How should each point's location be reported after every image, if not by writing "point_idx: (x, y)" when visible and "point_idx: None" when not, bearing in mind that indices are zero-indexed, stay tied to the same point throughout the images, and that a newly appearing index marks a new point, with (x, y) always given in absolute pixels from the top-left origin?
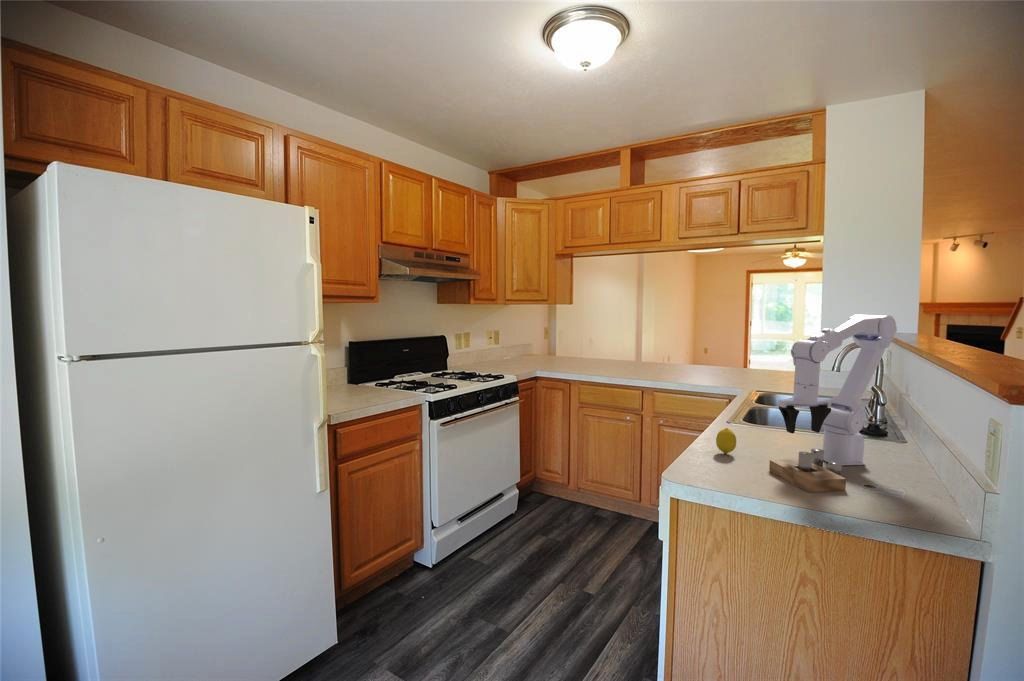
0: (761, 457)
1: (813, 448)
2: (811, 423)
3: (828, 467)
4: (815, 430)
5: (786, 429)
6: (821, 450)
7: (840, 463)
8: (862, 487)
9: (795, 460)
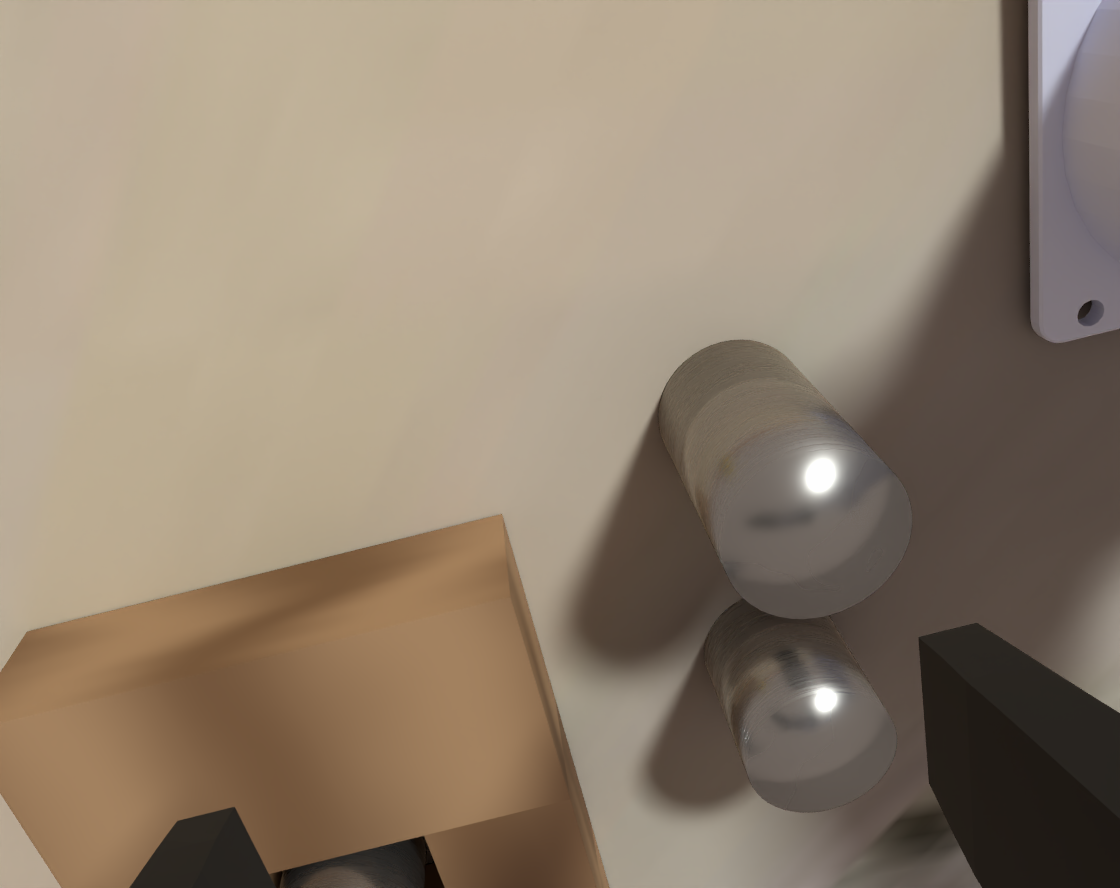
0: (42, 51)
1: (799, 466)
2: (1028, 750)
3: (729, 715)
4: (943, 765)
5: (149, 861)
6: (866, 554)
7: (883, 758)
8: (839, 868)
9: (353, 683)
